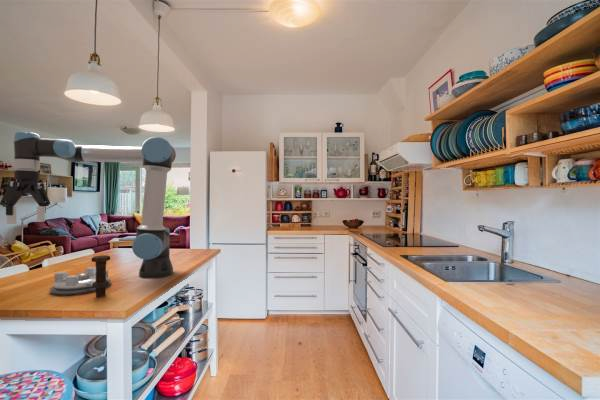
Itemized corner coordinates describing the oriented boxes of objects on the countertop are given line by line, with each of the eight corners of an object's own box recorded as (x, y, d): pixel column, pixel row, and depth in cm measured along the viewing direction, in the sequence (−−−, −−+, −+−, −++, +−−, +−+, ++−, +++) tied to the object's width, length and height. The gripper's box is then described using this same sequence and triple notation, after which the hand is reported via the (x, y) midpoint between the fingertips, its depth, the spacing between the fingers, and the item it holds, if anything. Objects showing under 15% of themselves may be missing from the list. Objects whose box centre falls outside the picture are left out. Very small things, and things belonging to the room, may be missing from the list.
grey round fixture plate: (115, 277, 129) (115, 266, 129) (96, 288, 111) (96, 276, 111) (69, 279, 125) (69, 267, 125) (42, 292, 107) (42, 278, 107)
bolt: (88, 297, 107) (89, 257, 107) (102, 293, 112) (102, 254, 112) (98, 299, 105) (99, 258, 105) (112, 295, 109) (112, 255, 110)
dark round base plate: (118, 280, 130) (118, 276, 130) (98, 293, 111) (98, 289, 111) (67, 282, 125) (67, 278, 126) (37, 297, 106) (37, 293, 106)
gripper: (42, 173, 129) (42, 220, 128) (-15, 166, 104) (-15, 225, 104) (60, 173, 129) (60, 220, 129) (7, 166, 104) (7, 224, 104)
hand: (27, 222), depth 116 cm, fingers open, 13 cm apart
